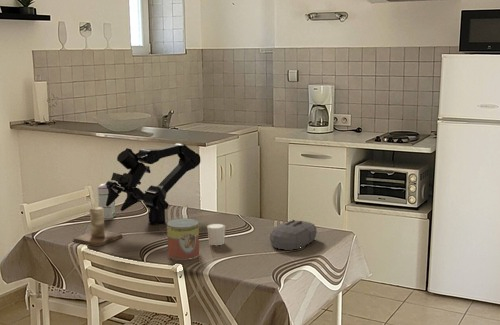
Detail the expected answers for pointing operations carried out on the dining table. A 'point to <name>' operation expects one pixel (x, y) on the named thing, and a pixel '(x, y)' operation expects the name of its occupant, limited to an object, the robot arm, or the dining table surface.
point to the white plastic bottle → (102, 197)
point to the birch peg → (97, 222)
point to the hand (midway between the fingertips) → (113, 208)
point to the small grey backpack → (293, 235)
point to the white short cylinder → (216, 234)
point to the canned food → (183, 238)
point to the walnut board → (98, 241)
